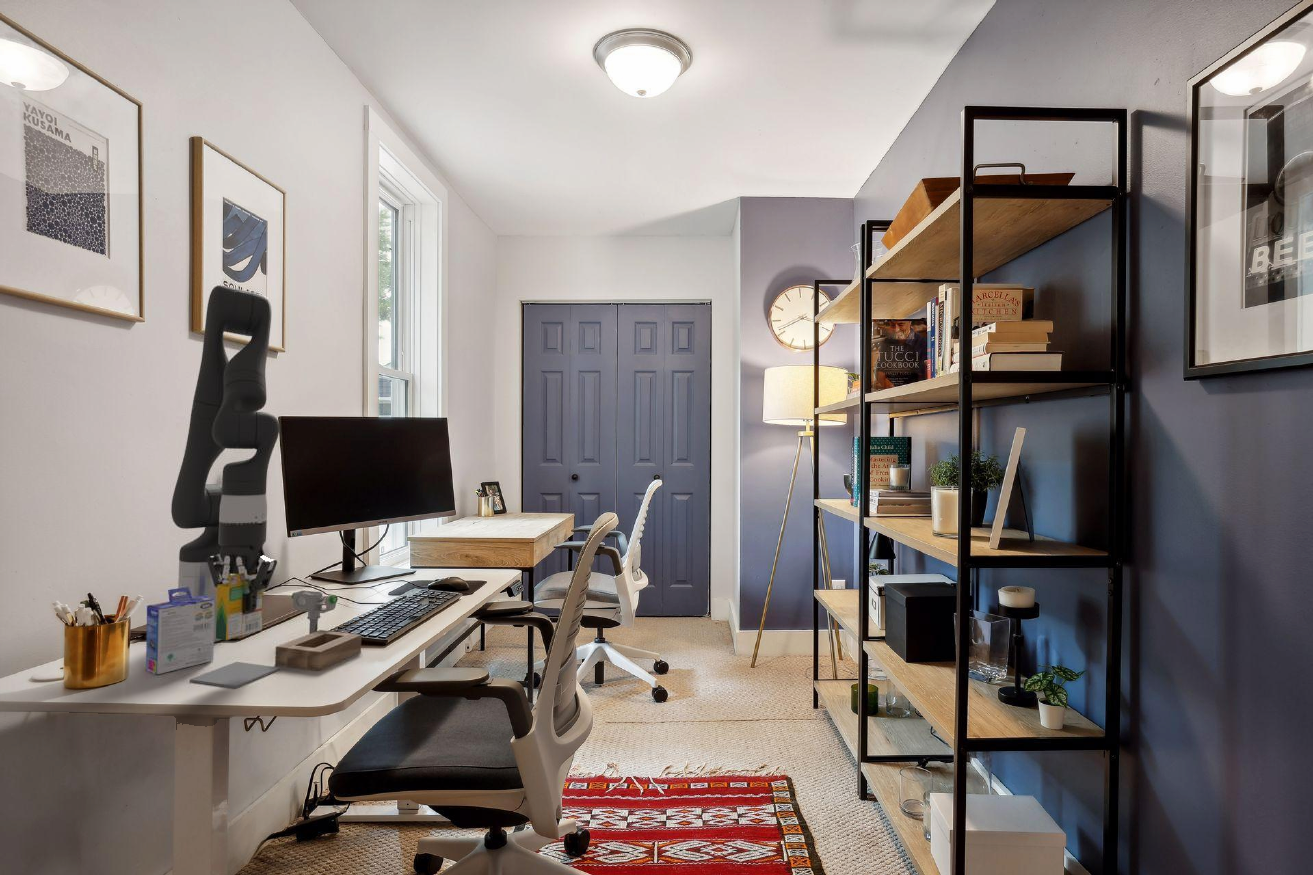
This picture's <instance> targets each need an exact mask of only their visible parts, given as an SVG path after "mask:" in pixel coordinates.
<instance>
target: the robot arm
mask: <svg viewBox="0 0 1313 875" xmlns="http://www.w3.org/2000/svg"><path fill="white" fill-rule="evenodd" d="M206 308H207V309H206V314H205V315H206V316H205V326H204V336H203V345H202V353H201V360H200V367H199V371H198V375H197V381H196V387H195V391H194V395H193V400H192V407H191V413H190V420H189V427H188V434H187V439H186V444H185V449H184V454H183V458H182V463H181V466H180V470H179V472H178V475H177V476H178V477H177V480H176V484H175V488H174V490H173V495H172V499H171V509H170V511H171V519H172V522H173V523H174V524H175V526H176V527H178V528H180V529H182V530H183V529H184V530H188V529H200V528H201V529H202V528H204V530H203V532H202V533H201V534H200V535H199V536H198V537H197V538H196V539H194V540H192V541H190V542H187V543H186V544H184V545H182V546H181V547H180V549H179V553H178V557H179V558H178V561H179V562H178V580H177V582H178V583H177V584H178V585H177V589H178V588H185V587H189V590H190V593H191V596H192V597H198V596H206V597H209V598H212V599H215V615H214V643H215V642H219V641H223V640H222V639H216V615H217V585H220V584H225V583H229V576H231V575H236V574H239V577H240V578H239V580H240V581H241V582H243V590H244V593H245V594H243V603H242V613H243V614H249V613H252V612H254V611H255V609H256V607H257V592H258V591H259V590H262V589H263V590H266V589H267V588H268V586H269V584H270V582H271V579H272V577H273V574H274V572H275V570H276V567H277V564H278V560H277V559H276V558H273V559H271V558H268V557H266V556H265V555H266V554H265V552H264V548H263V547H264V544H265V543H266V541H267V527H268V526H267V524H268V521H267V520H268V500H267V481H268V480H267V479H268V469H269V465H270V464H269V463H270V460H271V457H272V454H273V451H274V448H275V446H276V444H277V440H278V438H279V434H280V430H281V429H280V422H279V420H278V419H277V417H276V415H275V414H273V413H271V412H267V411H261V410H262V409H263V408H264V407H265V406H266V404H267V397H268V396H267V384H266V383H267V382H266V380H267V379H266V369H267V368H266V367H267V365H266V364H267V357H268V352H269V344H270V334H271V328H272V327H271V326H272V305H271V300H270V299H269V298H268V297H266V296H265V295H263V294H260V293H256V292H251V291H249V290H248V291H247V290H244V289H238V288H234V287H231V286H230V287H229V286H226V285H216V286H214V287H213V288H212V290H211V292H210V294H209V297H208V301H207V307H206ZM224 333H231V334H235V335H239V336H240V335H241V336H246V337H251V338H250V340H249V342H248V343H246V345H245V346H243V348H242V349H241V350H239V351H238V352H237V353H236V354H234V355H233V357H231V359H230V360H229V358H228V355H227V352H226V350H225V345H224V342H225V341H224ZM225 449H231V450H232V449H233V450H237V449H238V450H239V449H240V450H242V449H243V450H255V453H254V454H253V456H252V457H251V458H248V459H245V460H240V461H232V462H228V463H227V464H225V465H224V466H223V468H222V476H221V477H222V478H221V479H222V481H221V483H207V481H208V477H209V474H210V472H211V469H212V467H213V464H214V463H215V462H216V460H217V459H218V458H219V457H220V455H221V454H222V453H223V452H224V451H225ZM253 572H254V573H253ZM251 573H253V574H252V575H247V574H251ZM250 580H251V582H252V586H251V585H250ZM182 595H187V593H186V592H177V593H176V594H175V595H173V597H176V596H182Z"/></svg>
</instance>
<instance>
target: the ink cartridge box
mask: <svg viewBox="0 0 1313 875" xmlns="http://www.w3.org/2000/svg"><path fill="white" fill-rule="evenodd" d="M178 592H186V593H187V595H182V596H176V597H174V594H178ZM167 594H168V600H169V601H166V602H160V603H155V604H154V603H153V604H148V605H147V606H146V642H145V643H146V646H145V647H146V649H145V650H146V652H145V657H146V658H145V670H146V671H148V672H149V673H152V674H154V675H161V674H165V673H168V672H172V671H176V670H181V669H184V668H188V667H193V666H197V665H201V664H202V665H203V664H206V663H209V662H213V661H214V647H215V646H214V643H215V642H214V615H215V599H212V598H209V597H206V596H198V597H192V596H191V593H190V590H189V587H185V588H178V587H177V588H173V589H168V590H167Z"/></svg>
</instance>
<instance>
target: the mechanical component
mask: <svg viewBox="0 0 1313 875" xmlns="http://www.w3.org/2000/svg"><path fill="white" fill-rule="evenodd" d="M291 598H292V599H291V600H292V601H293V602H292V604H293V606H292V607H293V608H294V610H296V611H297V612H307V617H306V618H307V620H309V629H308V630H309V634H311V633H313V632H316V631H318V627H319V626H318V624H319V623H318V621H319V619H320V618H321V614H325V613H328V612H330V611H334V610H335V609H336V607H337V603H338V600H339V599H338V596H337V595H335V594H328V595H327V596H326V598H325V596H323V591H314V590H313V591H311V590H299V591H295V592H294V591H293V593H292V594H291ZM323 606H326V607H323Z"/></svg>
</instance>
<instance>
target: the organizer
mask: <svg viewBox="0 0 1313 875" xmlns="http://www.w3.org/2000/svg"><path fill="white" fill-rule="evenodd" d="M361 650H362V634H358V633H349V632H341V631H340V632H339V631H332V630H331V631H330V630H323V629H320V630H317V631H316V632H313V633H311V634H305V635H303V636H300V637H298V638H296V639H293V640H290V641H287V642H284V643H281V644H280V645H279V644H278V645H276V646H275V659H274V665H275V666H284V667H288V668H289V667H290V668H299V669H305V670H312V669H313V670H314V671H322V670H324V669H325V668H328V667H331V666H332V665H334V664H337V663H339V662H341V661H344V660H346V659H348V658H350V657H353V656H354V655H356V654H359V653H360V652H361ZM321 669H322V670H321Z"/></svg>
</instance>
